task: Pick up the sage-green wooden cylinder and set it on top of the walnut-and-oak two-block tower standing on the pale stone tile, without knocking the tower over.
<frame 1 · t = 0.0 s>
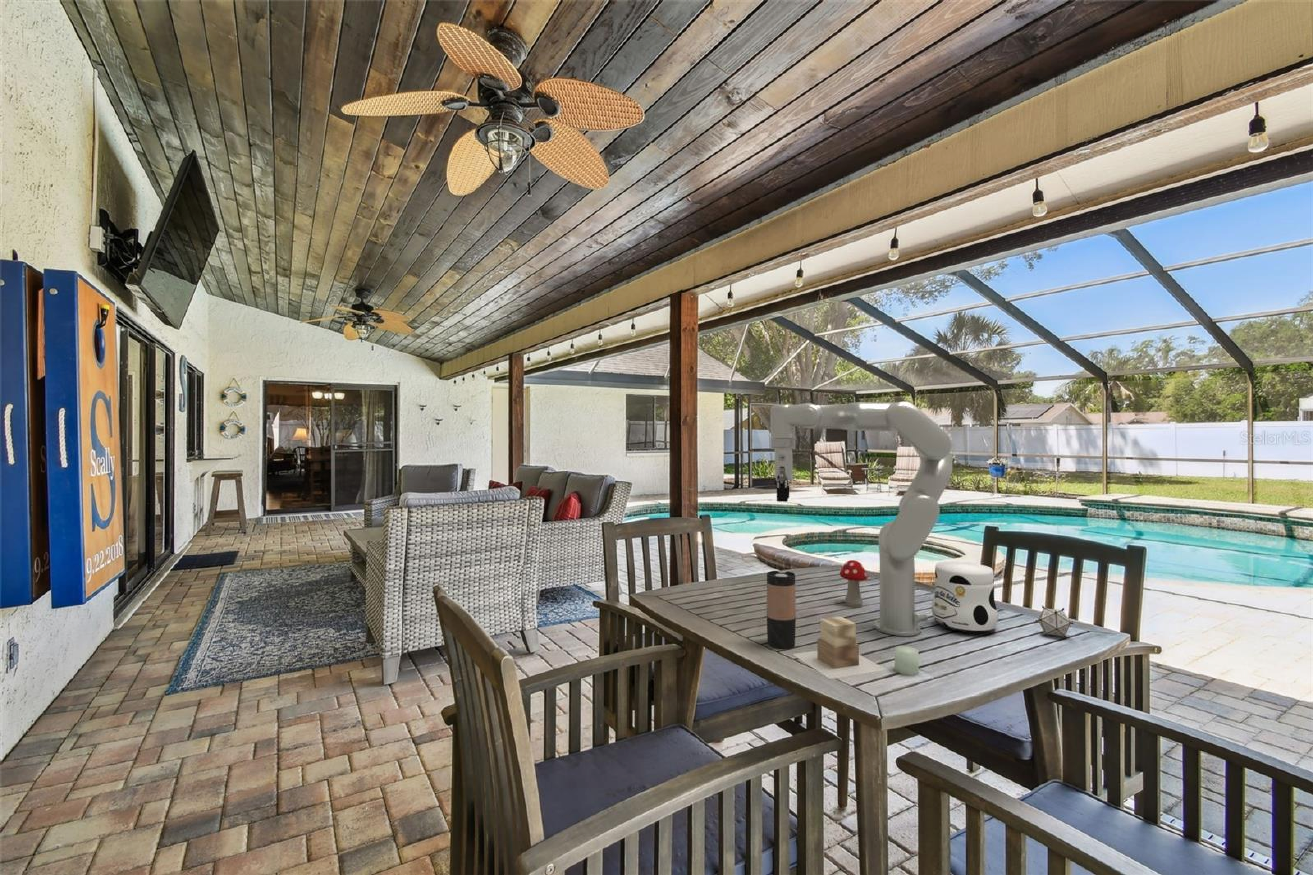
hand: (783, 499, 178), 37 cm above the table, tool pointing down, fingers open, 9 cm apart
tower base block: (837, 661, 142), point 1 cm above the table, touching stone tile, tower top block
stone tile: (837, 665, 142), on the table
tower top block: (837, 641, 142), point 6 cm above the table, touching tower base block
travel mug: (781, 648, 154), on the table
beige icosahedron ornament: (1054, 636, 163), on the table
decorative mushroom: (853, 605, 194), on the table
milk container: (964, 628, 170), on the table
sage cylinder: (906, 675, 136), on the table
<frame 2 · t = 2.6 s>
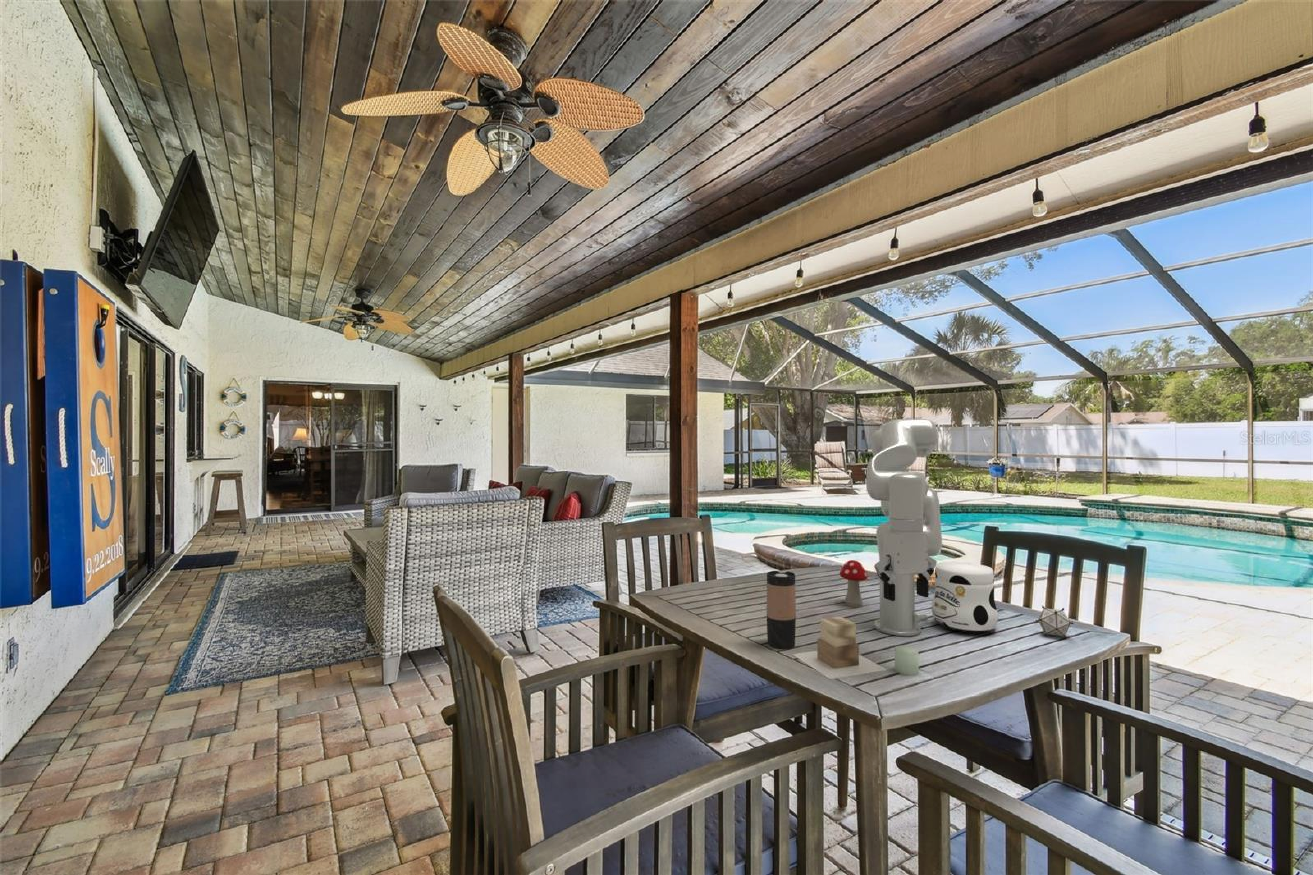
hand: (906, 597, 136), 18 cm above the table, tool pointing down, fingers open, 9 cm apart
nothing on the table moved.
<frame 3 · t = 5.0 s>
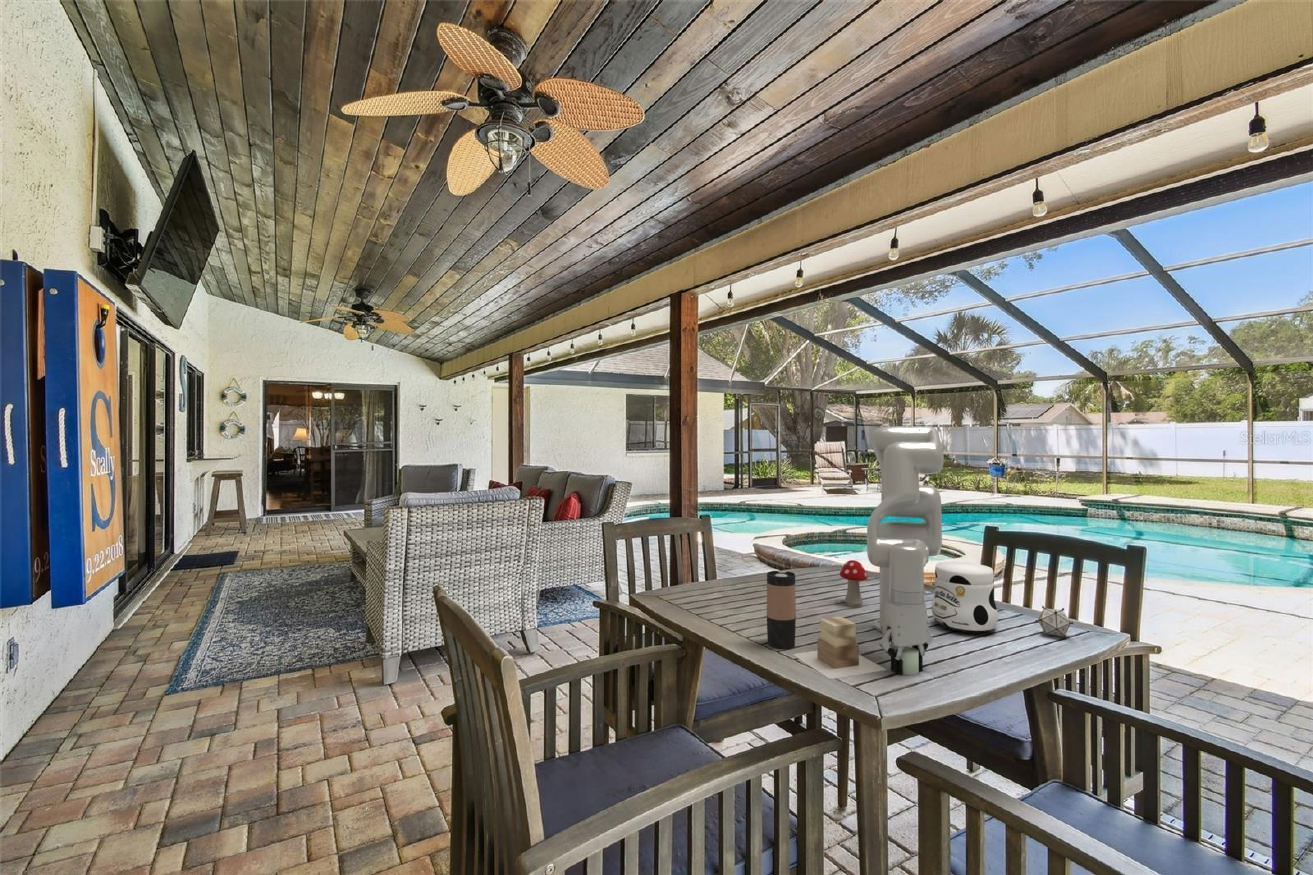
hand: (906, 672, 136), 1 cm above the table, tool pointing down, fingers closed on sage cylinder, 5 cm apart
sage cylinder: (906, 675, 136), on the table, touching gripper
everything else where it was.
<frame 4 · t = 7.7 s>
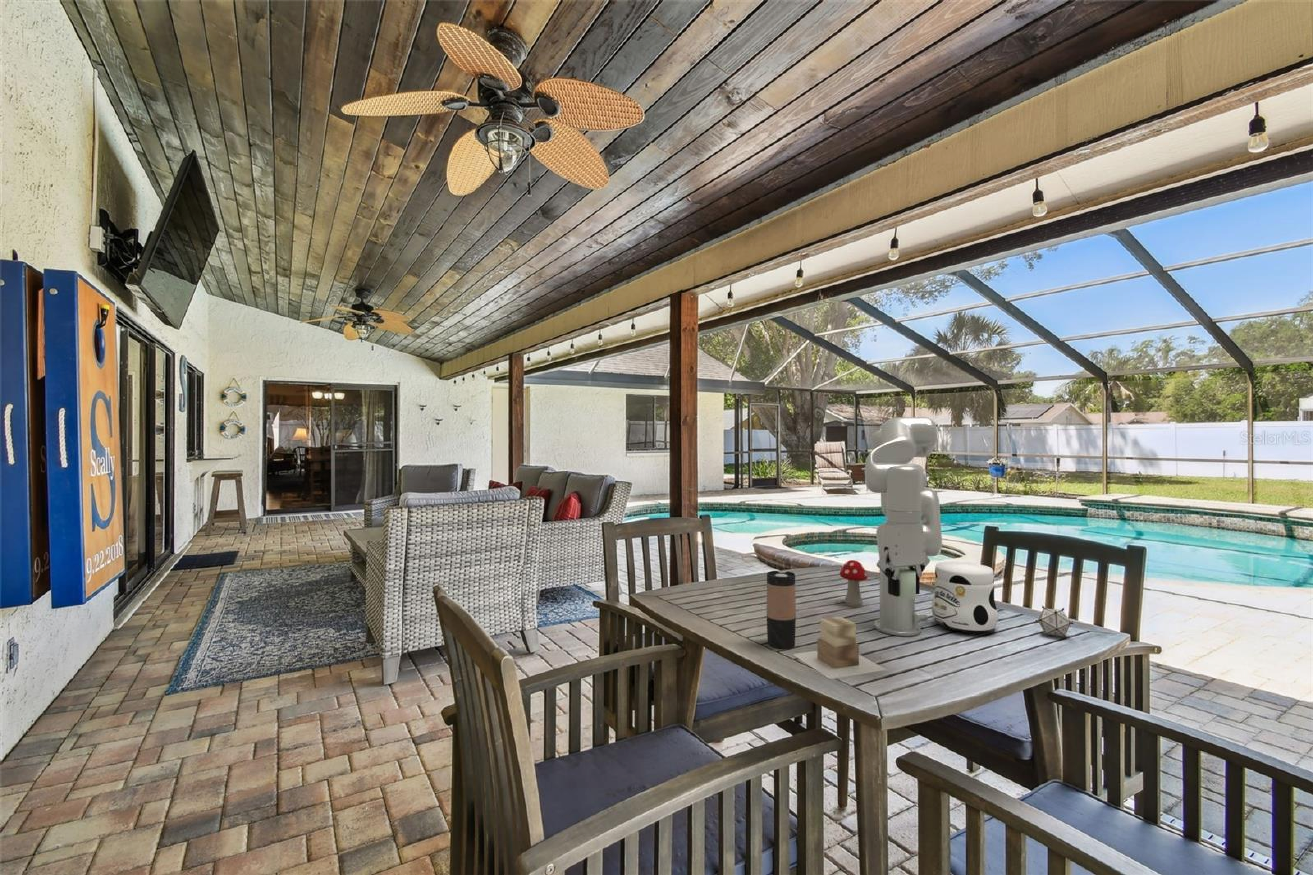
hand: (903, 593, 137), 19 cm above the table, tool pointing down, fingers closed on sage cylinder, 5 cm apart
sage cylinder: (903, 596, 137), point 19 cm above the table, touching gripper
everything else where it was.
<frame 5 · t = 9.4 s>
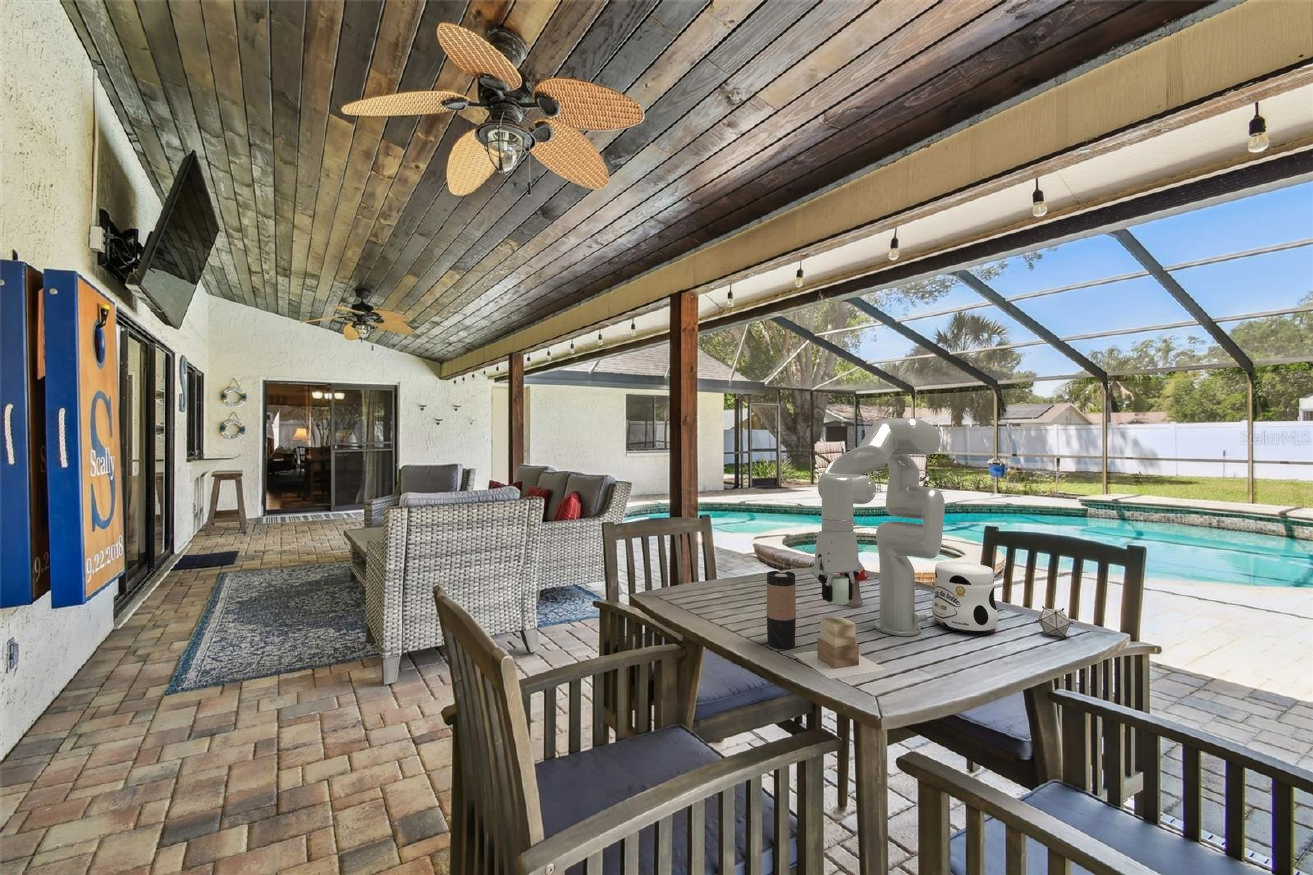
hand: (837, 598, 142), 17 cm above the table, tool pointing down, fingers closed on sage cylinder, 5 cm apart
sage cylinder: (837, 601, 142), point 16 cm above the table, touching gripper
everything else where it was.
when the fingers open (13 cm above the table, at t = 10.6 s): sage cylinder stays where it is, resting on tower top block.
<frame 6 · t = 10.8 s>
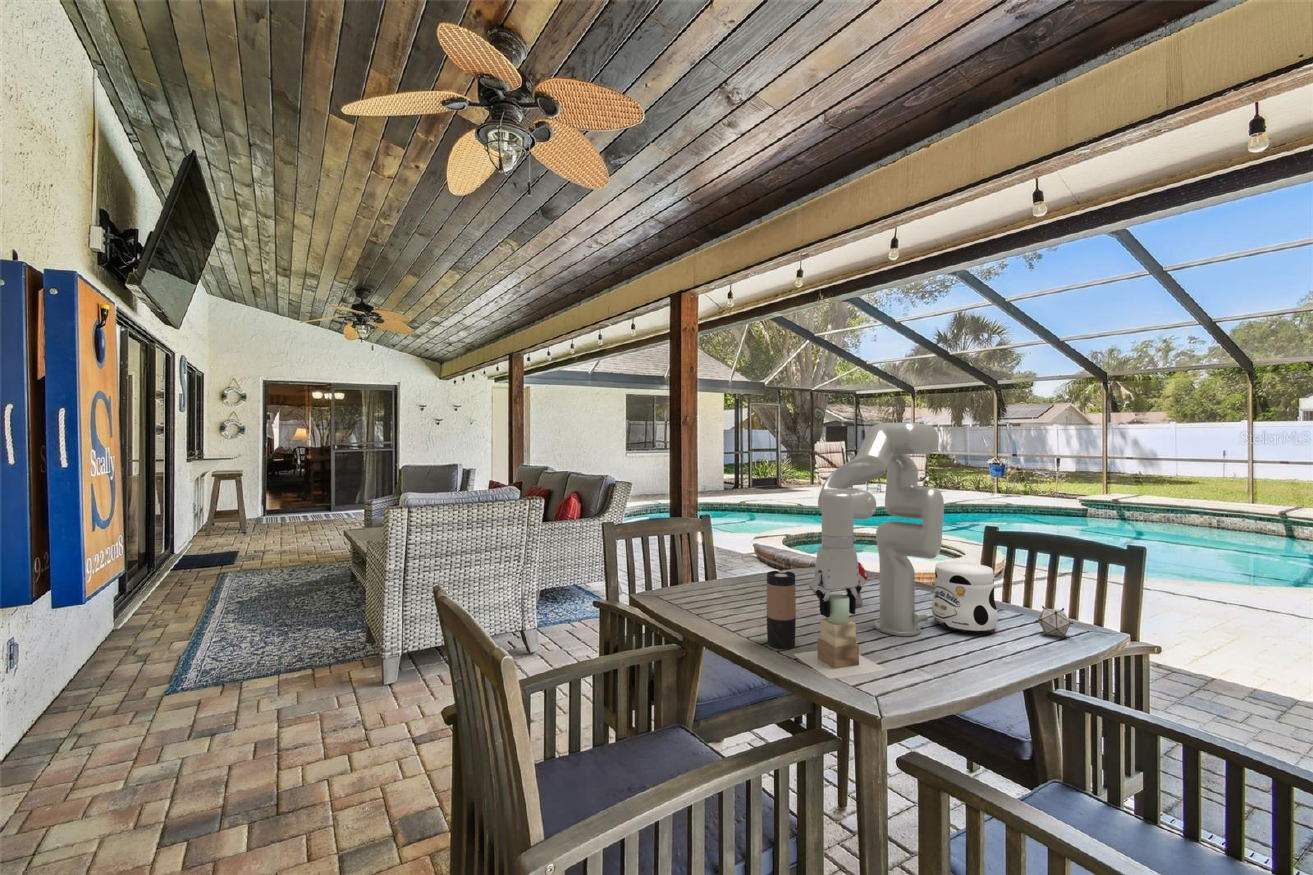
hand: (837, 613, 142), 13 cm above the table, tool pointing down, fingers open, 6 cm apart
tower top block: (837, 641, 142), point 6 cm above the table, touching sage cylinder, tower base block
sage cylinder: (837, 621, 142), point 11 cm above the table, touching tower top block
everything else where it was.
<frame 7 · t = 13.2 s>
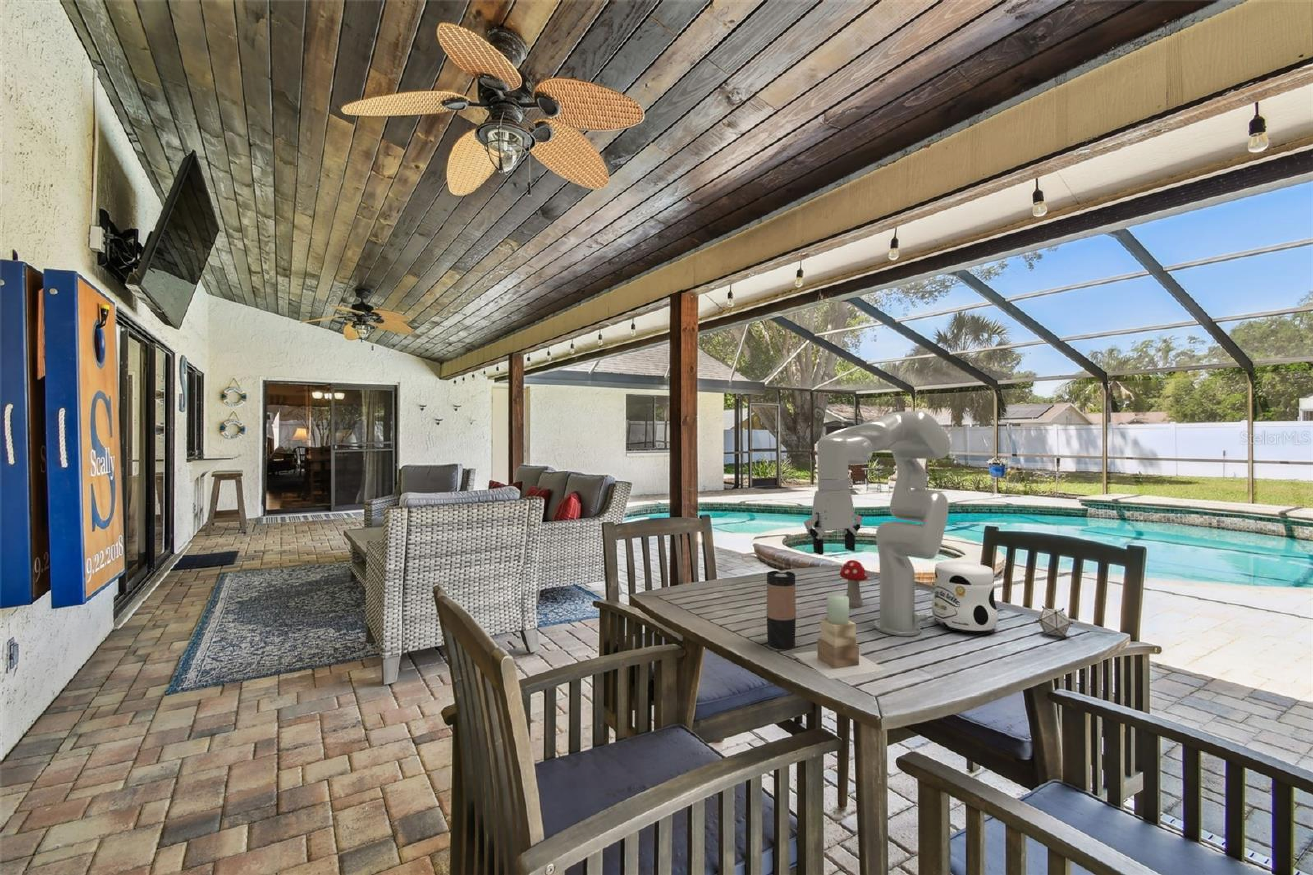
hand: (834, 551, 148), 27 cm above the table, tool pointing down, fingers open, 9 cm apart
nothing on the table moved.
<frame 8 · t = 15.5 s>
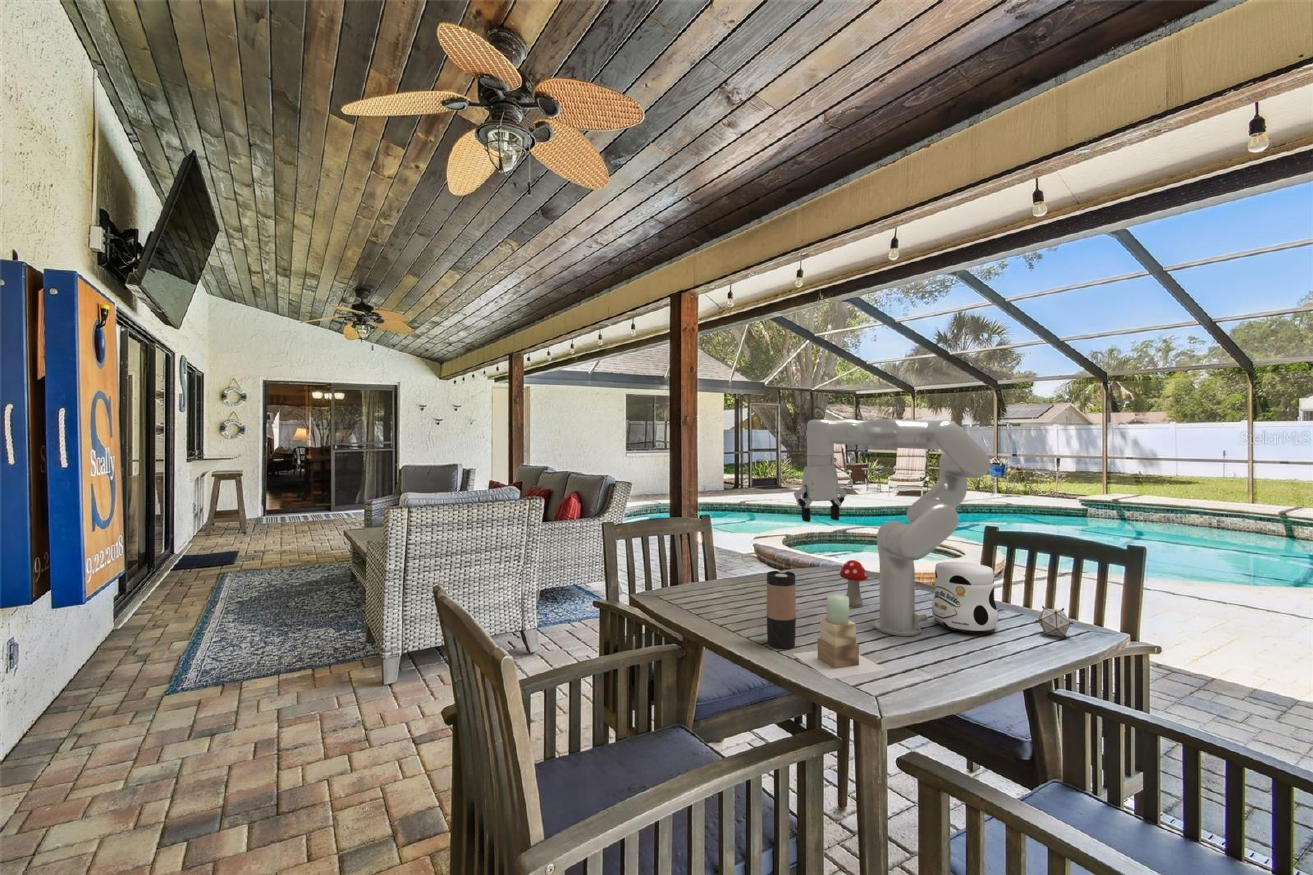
hand: (820, 520, 167), 32 cm above the table, tool pointing down, fingers open, 9 cm apart
nothing on the table moved.
at the end: sage cylinder 0.0 cm off-centre on the tower top block, point 5.0 cm above the tower top block's base; tower top block 0.0 cm from the target spot, point 6.0 cm above the table; sage cylinder tilted 0° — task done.
